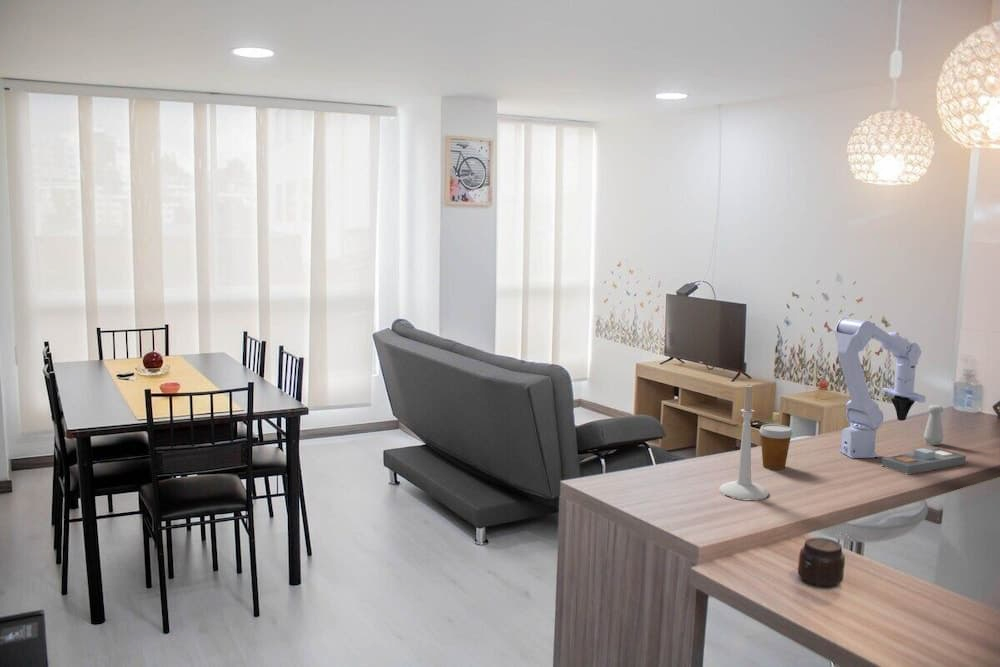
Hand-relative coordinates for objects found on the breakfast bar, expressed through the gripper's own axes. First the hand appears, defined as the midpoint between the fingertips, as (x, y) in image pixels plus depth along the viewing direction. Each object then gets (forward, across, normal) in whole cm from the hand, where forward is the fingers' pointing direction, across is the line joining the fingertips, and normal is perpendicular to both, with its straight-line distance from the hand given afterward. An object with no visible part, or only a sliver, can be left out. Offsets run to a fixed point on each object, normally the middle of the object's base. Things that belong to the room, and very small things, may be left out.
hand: (901, 420), depth 268 cm
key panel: (+9, -16, +9) cm, 21 cm away
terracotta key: (+9, -16, +17) cm, 25 cm away
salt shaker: (+10, -1, -14) cm, 17 cm away
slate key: (+7, -16, +9) cm, 20 cm away
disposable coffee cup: (+10, +2, +52) cm, 52 cm away
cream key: (+9, -16, +1) cm, 18 cm away
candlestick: (+10, -13, +76) cm, 78 cm away
